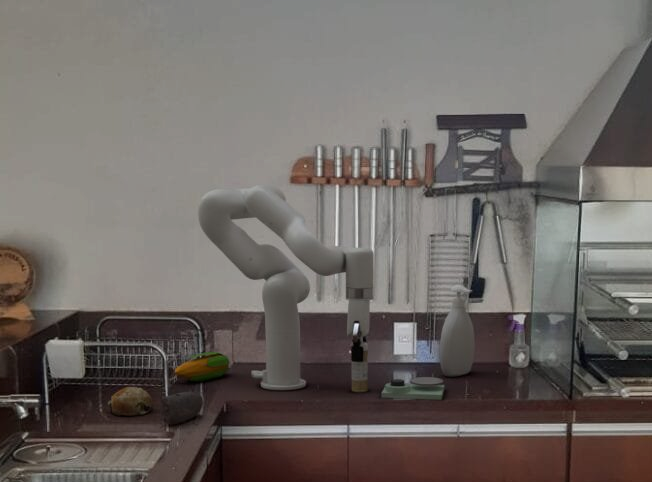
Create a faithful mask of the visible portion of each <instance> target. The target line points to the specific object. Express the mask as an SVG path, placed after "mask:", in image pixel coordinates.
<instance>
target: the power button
mask: <svg viewBox="0 0 652 482" xmlns="http://www.w3.org/2000/svg"><path fill="white" fill-rule="evenodd" d="M390 383H391V386H394V387H401V386H404V383H405V380H404V379H398V378H395V379H394V378H393V379H391V380H390Z"/></svg>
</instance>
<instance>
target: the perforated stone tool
mask: <svg viewBox="0 0 652 482" xmlns="http://www.w3.org/2000/svg"><path fill="white" fill-rule="evenodd" d="M160 403H161V407H160V412H159V413H160V414H161V416H162V422H164V424H167V425H171V426H172V425H177V424H182V423H184V422H186V421H189V420H191V419H193V418H195V417H197V415H198V414H199V413H200V412H201V411H202V408H203V404H204V401H203V397H202V396H201V394H199V393H198V392H194V391H183V392H178V393H174V394H171V395H166V396H163V397H161V398H160Z"/></svg>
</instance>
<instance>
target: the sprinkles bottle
mask: <svg viewBox="0 0 652 482" xmlns="http://www.w3.org/2000/svg"><path fill="white" fill-rule="evenodd" d="M351 347H352V342H351V344H350V348H351ZM362 347H363V362H352V361H351V389H350V390H351V391H352V392H353V393H367V392H368V389H369V388H368V375H369V373H368V372H369V371H368V369H369V368H368V367H369V366H368V365H369V364H368V362H369V361H368V355H367V350H368V351H369V343H366V342H363V343H362Z"/></svg>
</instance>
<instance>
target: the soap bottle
mask: <svg viewBox="0 0 652 482" xmlns="http://www.w3.org/2000/svg"><path fill="white" fill-rule="evenodd" d="M450 292H451V293H456V297H453V299H451V309H450V311H449V312H448V314H447V315H446V317H445V320H444V321H443V326H442V329H441V334H440V342H439V363H440V369H441V371H442V374H443V375H444V376H445V377H449V378H454V377H460V376H466V375H467V374H469V373H470V372H471V370H472V367H473V363H474V358H475V331H474V330H475V329H474V324H473V322H472V319H471V317H470V315H469V313H468V312H467V310H466V308H465V307H466V305H465V302H466V300H465V299H464V298H463V297H461V293H467V294H470V293H473V289H468V288H467V287H465V286H463V285H462V284H456V285H454V286H452V287H451V288H450Z"/></svg>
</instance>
